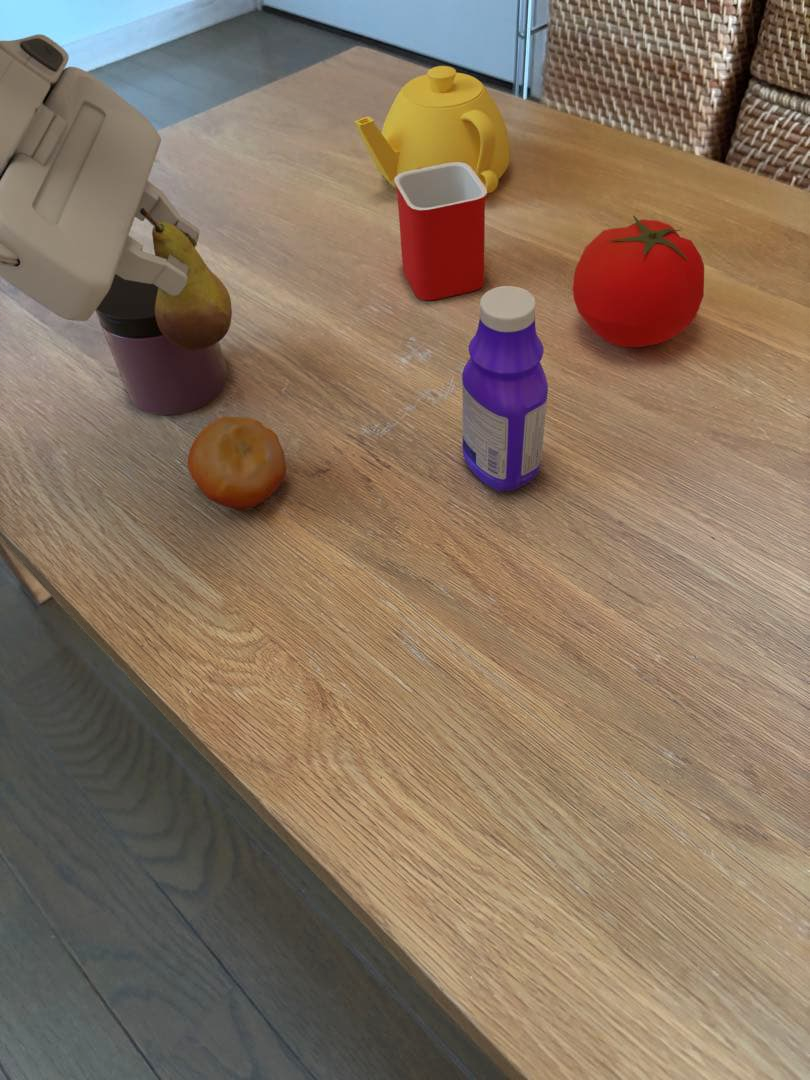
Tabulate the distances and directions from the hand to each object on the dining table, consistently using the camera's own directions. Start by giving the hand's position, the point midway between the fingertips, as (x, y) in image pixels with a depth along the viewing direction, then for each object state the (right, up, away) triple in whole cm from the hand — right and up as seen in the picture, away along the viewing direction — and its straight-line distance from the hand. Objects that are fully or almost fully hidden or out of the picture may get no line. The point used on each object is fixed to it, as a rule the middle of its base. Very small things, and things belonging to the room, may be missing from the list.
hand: (189, 263), depth 59 cm
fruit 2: (+1, -15, +17) cm, 23 cm away
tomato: (+38, +3, +29) cm, 48 cm away
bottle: (+23, -13, +17) cm, 32 cm away
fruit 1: (0, -4, +5) cm, 7 cm away
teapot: (+19, +26, +50) cm, 59 cm away
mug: (+19, +11, +38) cm, 43 cm away
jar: (-8, -3, +27) cm, 29 cm away
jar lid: (-9, +4, +19) cm, 21 cm away
